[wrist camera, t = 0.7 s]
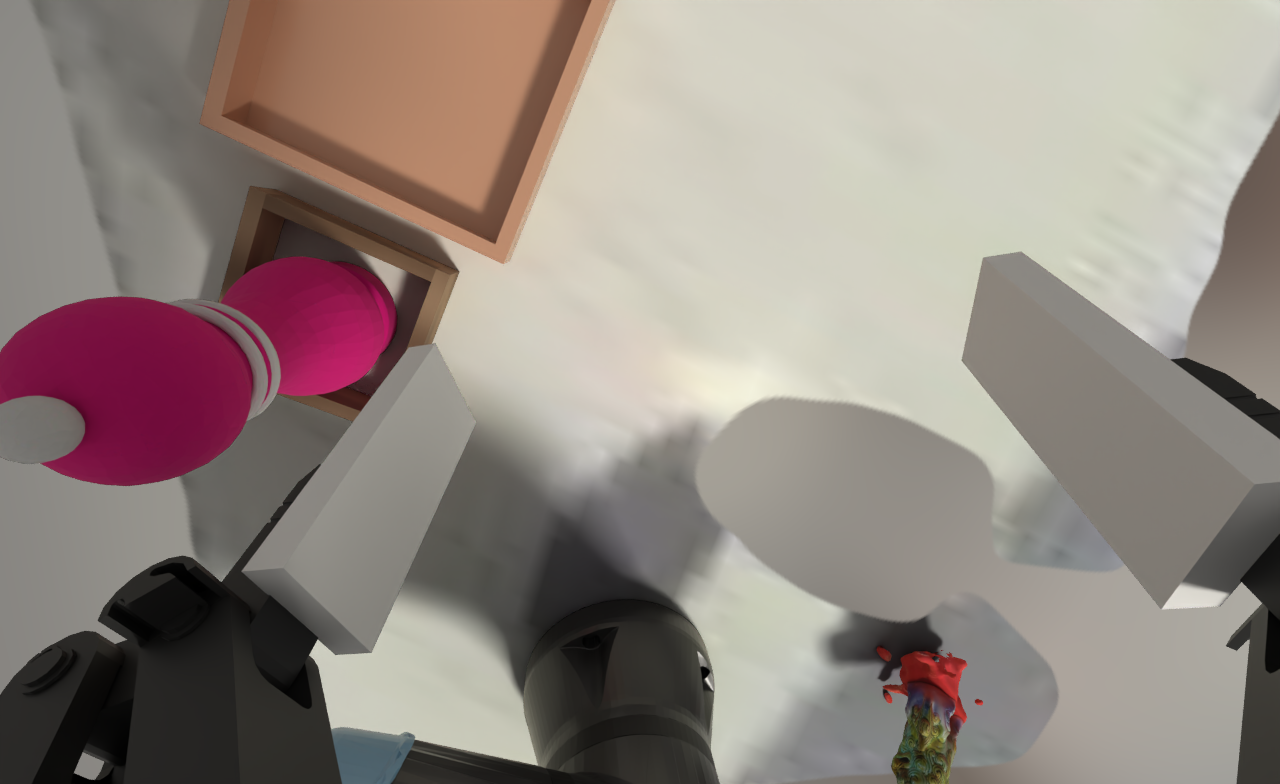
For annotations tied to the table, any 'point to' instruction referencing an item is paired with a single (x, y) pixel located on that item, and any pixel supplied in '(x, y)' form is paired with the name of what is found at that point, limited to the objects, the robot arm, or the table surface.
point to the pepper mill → (183, 369)
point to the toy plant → (928, 716)
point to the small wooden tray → (274, 206)
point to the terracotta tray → (410, 100)
